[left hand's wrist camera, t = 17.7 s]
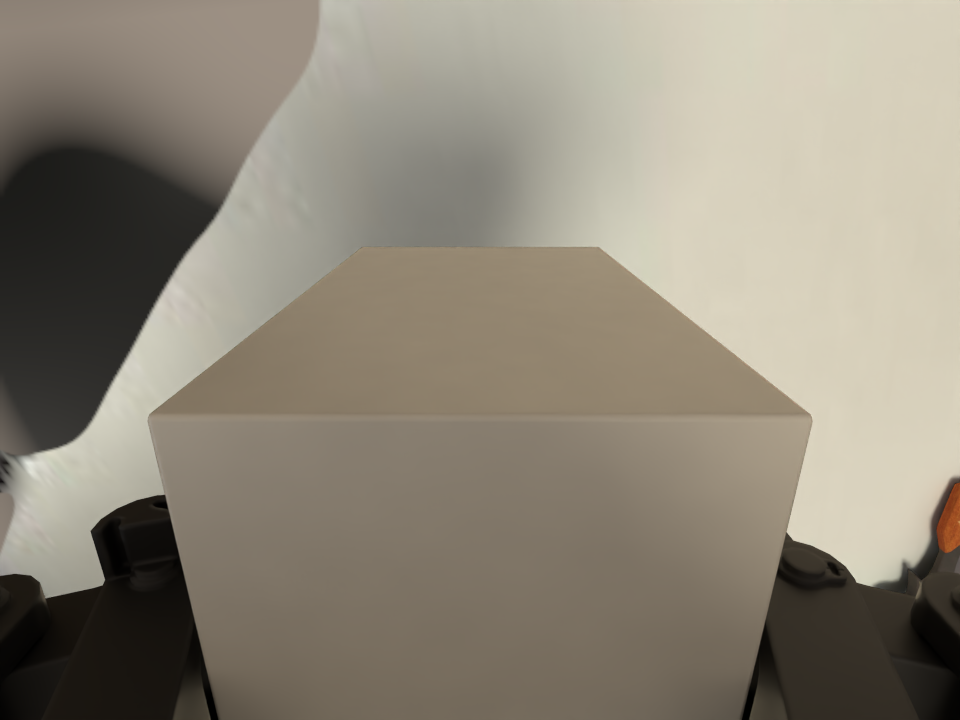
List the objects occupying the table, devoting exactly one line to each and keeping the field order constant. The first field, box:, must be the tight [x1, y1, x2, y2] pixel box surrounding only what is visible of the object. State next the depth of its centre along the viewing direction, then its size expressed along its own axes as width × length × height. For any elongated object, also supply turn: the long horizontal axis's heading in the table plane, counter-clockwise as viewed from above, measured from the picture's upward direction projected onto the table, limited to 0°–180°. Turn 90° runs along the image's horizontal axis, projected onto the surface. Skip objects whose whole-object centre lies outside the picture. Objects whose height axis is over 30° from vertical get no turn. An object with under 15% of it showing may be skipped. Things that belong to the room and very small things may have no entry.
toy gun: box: [903, 483, 960, 596], centre depth 40 cm, size 3×19×10 cm
